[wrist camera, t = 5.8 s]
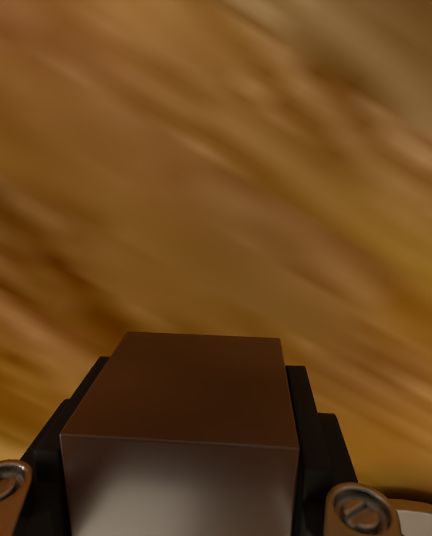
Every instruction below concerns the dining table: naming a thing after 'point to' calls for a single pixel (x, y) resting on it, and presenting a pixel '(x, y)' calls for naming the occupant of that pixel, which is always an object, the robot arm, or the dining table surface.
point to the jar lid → (414, 517)
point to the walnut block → (184, 440)
